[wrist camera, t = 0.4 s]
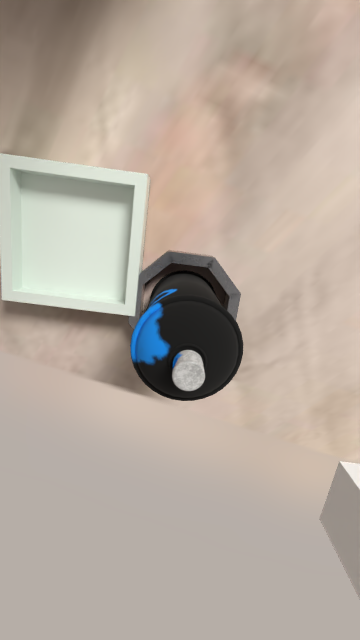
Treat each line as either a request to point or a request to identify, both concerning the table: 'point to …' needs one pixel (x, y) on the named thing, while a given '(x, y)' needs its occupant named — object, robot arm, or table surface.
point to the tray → (71, 234)
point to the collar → (194, 260)
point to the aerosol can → (186, 339)
